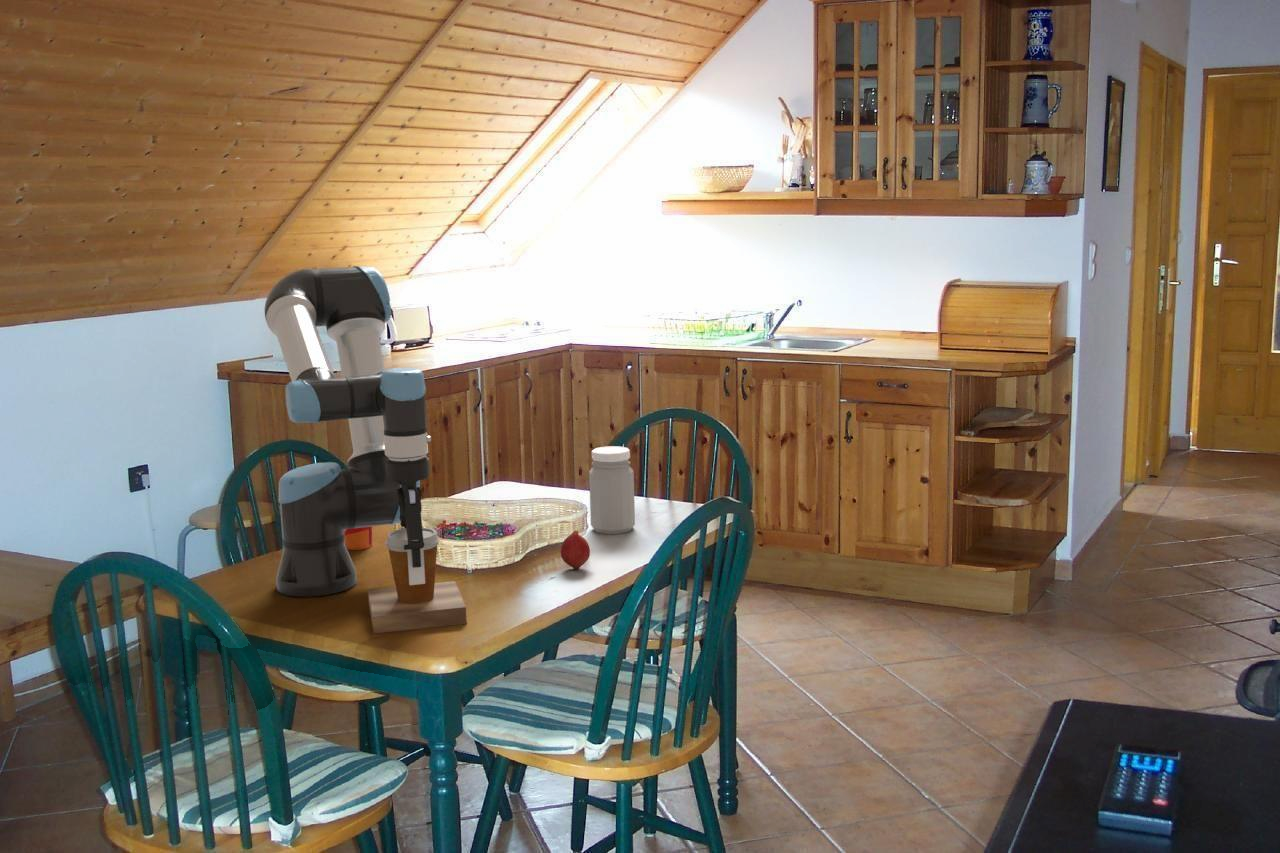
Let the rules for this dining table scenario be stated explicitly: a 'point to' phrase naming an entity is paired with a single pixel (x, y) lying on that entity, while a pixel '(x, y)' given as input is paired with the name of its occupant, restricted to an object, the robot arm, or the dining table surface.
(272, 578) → the dining table surface
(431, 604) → the square wooden board
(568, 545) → the onion
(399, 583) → the disposable coffee cup
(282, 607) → the dining table surface
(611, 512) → the jar
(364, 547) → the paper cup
